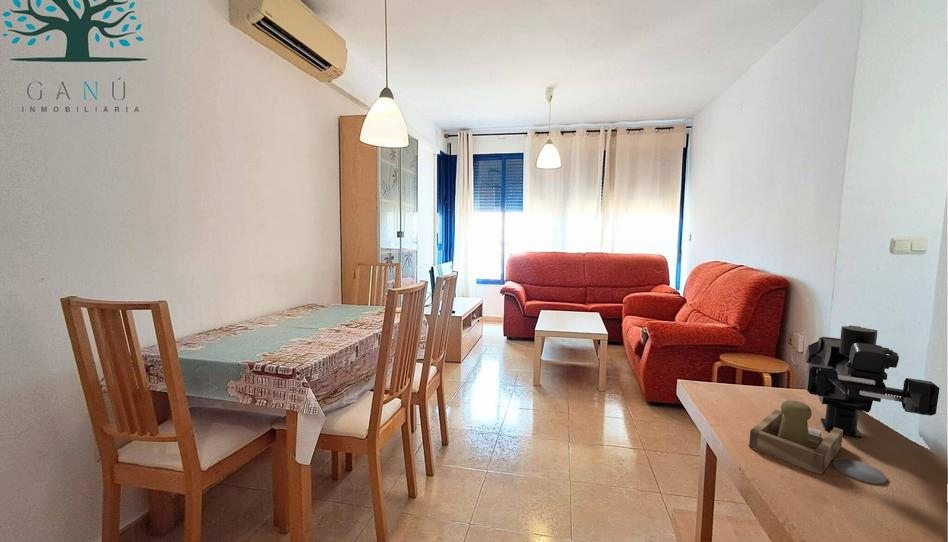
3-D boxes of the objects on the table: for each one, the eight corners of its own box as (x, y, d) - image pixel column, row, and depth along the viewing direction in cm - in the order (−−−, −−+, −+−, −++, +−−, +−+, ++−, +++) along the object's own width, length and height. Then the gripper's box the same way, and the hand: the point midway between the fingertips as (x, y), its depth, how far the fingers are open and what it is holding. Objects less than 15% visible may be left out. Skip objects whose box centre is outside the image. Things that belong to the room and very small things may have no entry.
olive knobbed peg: (772, 449, 86) (776, 402, 85) (778, 439, 90) (782, 394, 89) (807, 461, 82) (812, 411, 80) (812, 450, 86) (816, 403, 84)
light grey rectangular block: (786, 432, 94) (787, 420, 94) (824, 444, 89) (825, 432, 88) (780, 437, 92) (781, 425, 91) (819, 450, 86) (820, 438, 86)
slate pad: (829, 456, 83) (829, 454, 83) (879, 468, 79) (879, 466, 79) (837, 475, 77) (838, 472, 77) (892, 489, 73) (892, 486, 73)
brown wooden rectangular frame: (774, 424, 97) (775, 409, 97) (841, 446, 87) (843, 429, 87) (749, 447, 87) (750, 430, 87) (821, 474, 77) (823, 456, 77)
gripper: (806, 334, 89) (818, 352, 76) (925, 348, 79) (963, 372, 66) (801, 380, 90) (812, 406, 77) (918, 400, 80) (954, 433, 67)
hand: (880, 403), depth 72 cm, fingers open, 9 cm apart
